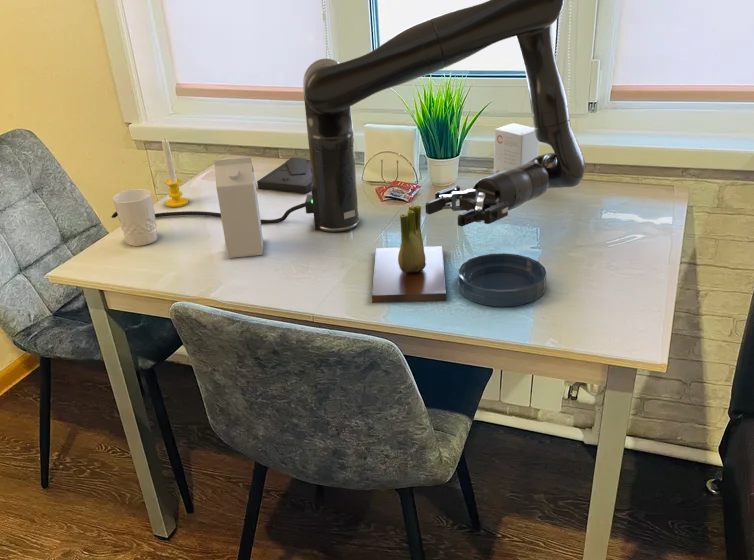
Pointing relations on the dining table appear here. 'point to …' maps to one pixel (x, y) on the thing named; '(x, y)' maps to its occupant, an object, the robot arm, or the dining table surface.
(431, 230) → the dining table surface
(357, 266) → the dining table surface
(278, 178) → the picture frame
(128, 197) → the white cup
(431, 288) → the board
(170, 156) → the candle
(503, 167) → the small box
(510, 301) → the bowl
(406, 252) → the fennel bulb
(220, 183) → the milk carton
